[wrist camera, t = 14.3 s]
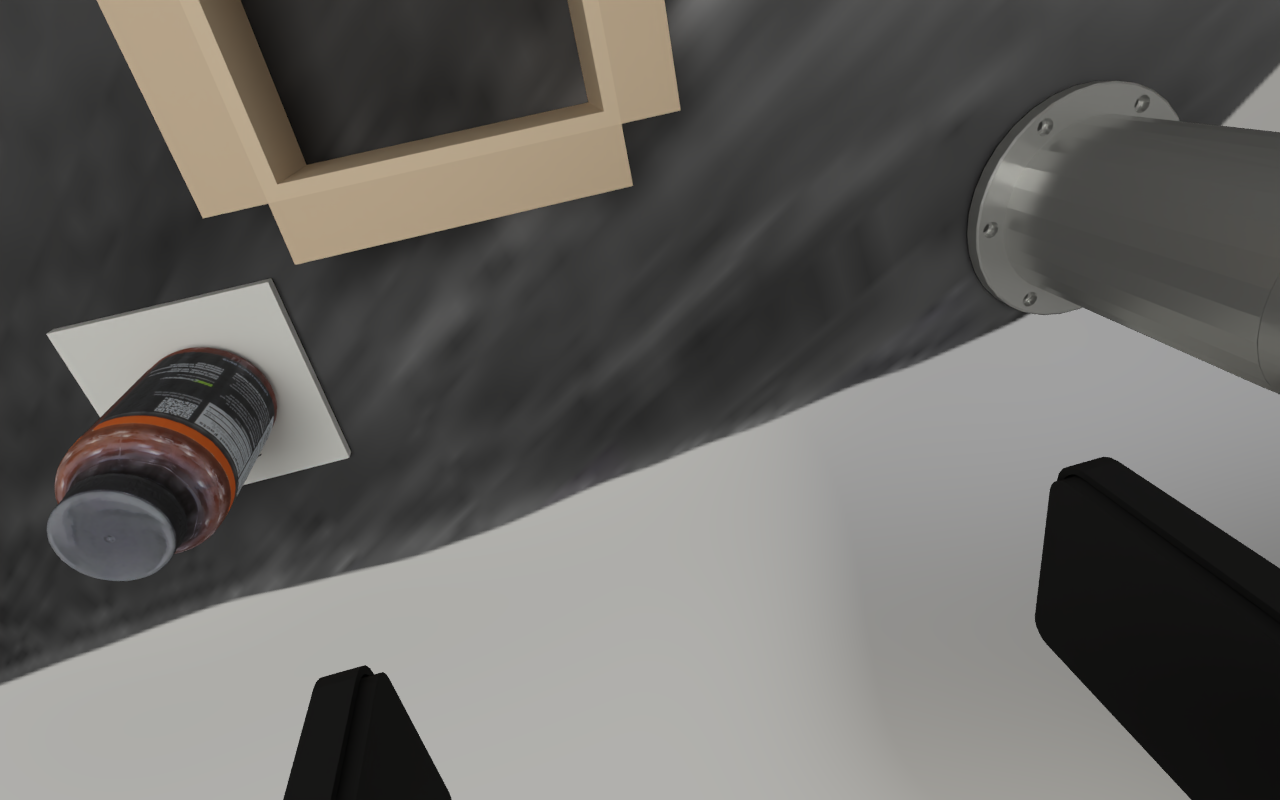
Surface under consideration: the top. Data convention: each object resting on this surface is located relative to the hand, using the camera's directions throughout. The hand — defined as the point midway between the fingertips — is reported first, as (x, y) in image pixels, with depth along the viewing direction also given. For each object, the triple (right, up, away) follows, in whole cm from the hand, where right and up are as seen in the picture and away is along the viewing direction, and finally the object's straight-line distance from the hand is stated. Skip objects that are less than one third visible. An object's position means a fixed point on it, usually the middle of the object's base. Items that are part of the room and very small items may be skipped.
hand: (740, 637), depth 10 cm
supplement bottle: (-22, +3, +25) cm, 34 cm away
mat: (-23, +4, +26) cm, 34 cm away
